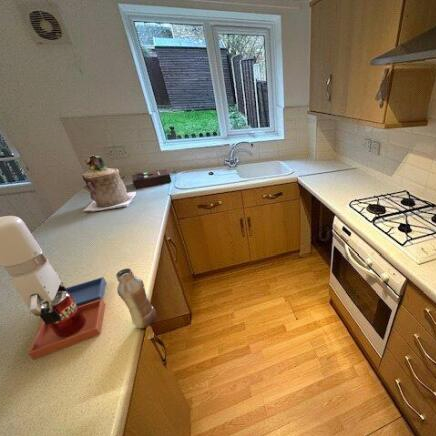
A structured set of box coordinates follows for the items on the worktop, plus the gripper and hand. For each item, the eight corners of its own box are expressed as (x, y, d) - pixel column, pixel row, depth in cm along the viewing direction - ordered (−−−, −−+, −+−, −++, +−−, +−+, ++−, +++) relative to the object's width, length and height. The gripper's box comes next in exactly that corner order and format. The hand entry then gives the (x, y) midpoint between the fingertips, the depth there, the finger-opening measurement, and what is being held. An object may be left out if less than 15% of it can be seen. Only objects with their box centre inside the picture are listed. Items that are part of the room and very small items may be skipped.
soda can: (51, 334, 71) (28, 305, 65) (77, 314, 77) (58, 287, 71) (66, 341, 69) (44, 312, 63) (92, 321, 75) (74, 293, 69)
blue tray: (53, 318, 77) (49, 312, 76) (62, 295, 86) (58, 290, 84) (102, 301, 83) (99, 296, 81) (106, 281, 91) (103, 276, 90)
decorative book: (172, 173, 186) (128, 181, 173) (175, 182, 190) (131, 190, 176) (169, 167, 201) (128, 174, 187) (171, 176, 205) (131, 183, 191)
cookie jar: (137, 193, 171) (121, 148, 156) (129, 207, 151) (109, 156, 135) (98, 198, 165) (76, 152, 149) (83, 214, 144) (56, 161, 129)
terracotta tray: (33, 359, 65) (27, 353, 64) (47, 323, 75) (43, 318, 74) (100, 334, 71) (96, 328, 70) (105, 304, 82) (102, 298, 80)
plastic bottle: (133, 334, 71) (106, 284, 61) (136, 317, 76) (112, 268, 67) (157, 326, 73) (135, 277, 63) (158, 310, 79) (138, 262, 69)
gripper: (19, 250, 66) (51, 294, 74) (-12, 289, 53) (31, 339, 61) (54, 242, 69) (81, 285, 77) (33, 277, 56) (68, 326, 64)
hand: (59, 309), depth 69 cm, fingers open, 9 cm apart
